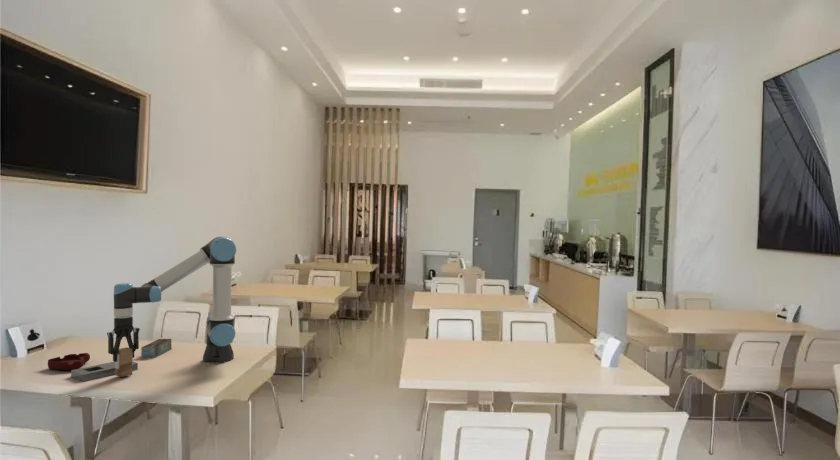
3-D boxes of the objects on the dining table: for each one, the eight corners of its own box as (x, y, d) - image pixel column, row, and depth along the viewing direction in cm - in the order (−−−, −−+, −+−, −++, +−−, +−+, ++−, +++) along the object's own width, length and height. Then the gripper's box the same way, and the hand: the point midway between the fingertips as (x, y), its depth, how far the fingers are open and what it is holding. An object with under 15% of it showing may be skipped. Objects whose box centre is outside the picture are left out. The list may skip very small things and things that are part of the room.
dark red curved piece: (53, 364, 252) (53, 354, 252) (91, 361, 258) (91, 352, 258) (41, 374, 235) (41, 364, 235) (81, 371, 241) (81, 361, 241)
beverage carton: (140, 358, 266) (140, 345, 266) (158, 349, 285) (158, 337, 285) (155, 358, 266) (155, 345, 266) (172, 349, 285) (172, 337, 285)
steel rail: (137, 369, 245) (137, 363, 245) (82, 381, 225) (82, 374, 225) (125, 365, 251) (125, 359, 251) (71, 376, 232) (71, 370, 232)
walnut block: (132, 374, 233) (132, 348, 233) (120, 377, 229) (120, 351, 229) (126, 372, 236) (126, 347, 236) (115, 375, 232) (115, 349, 232)
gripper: (139, 313, 242) (139, 361, 242) (98, 319, 227) (98, 370, 227) (147, 314, 238) (147, 363, 238) (106, 320, 223) (106, 372, 223)
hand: (123, 366), depth 233 cm, fingers closed on walnut block, 5 cm apart
